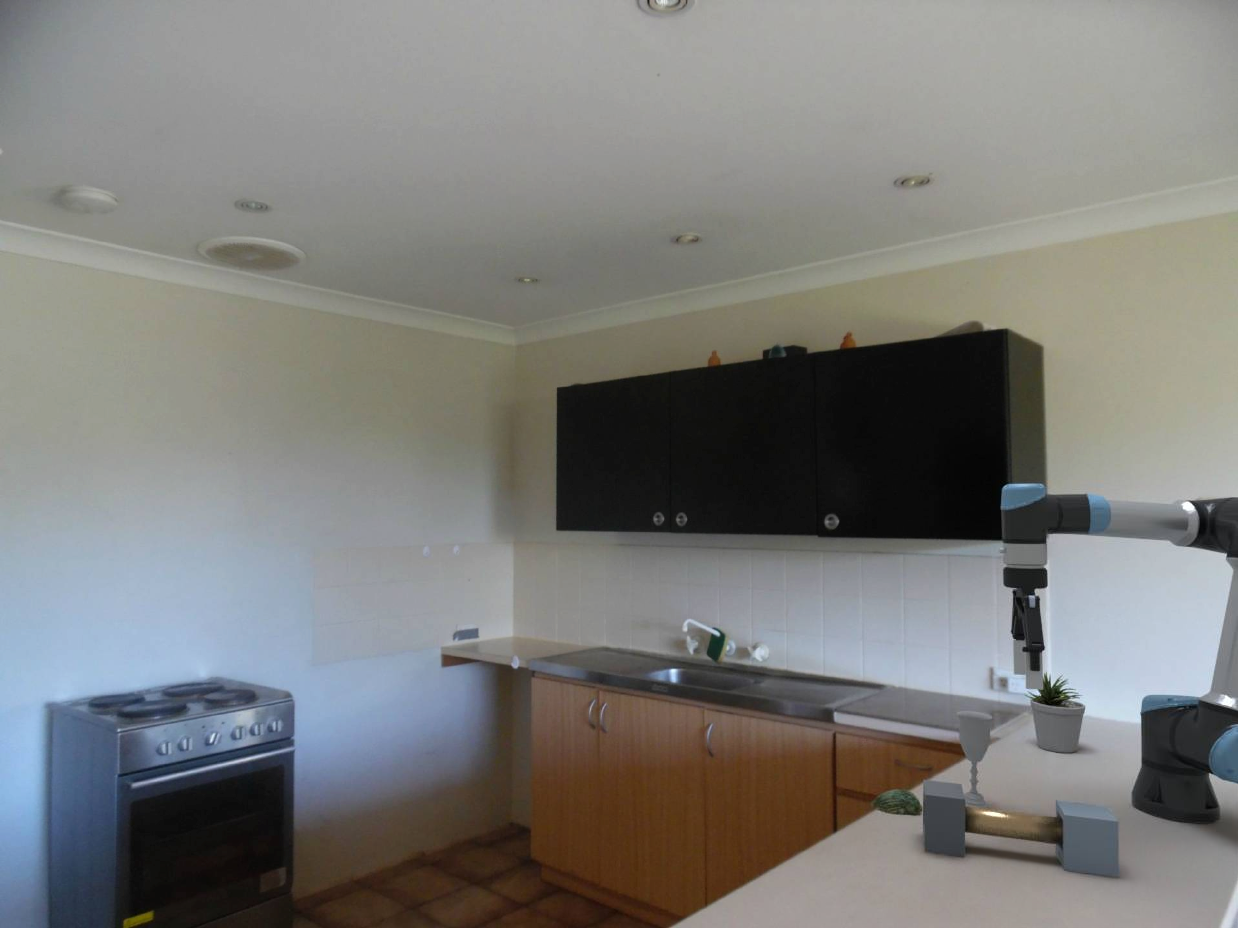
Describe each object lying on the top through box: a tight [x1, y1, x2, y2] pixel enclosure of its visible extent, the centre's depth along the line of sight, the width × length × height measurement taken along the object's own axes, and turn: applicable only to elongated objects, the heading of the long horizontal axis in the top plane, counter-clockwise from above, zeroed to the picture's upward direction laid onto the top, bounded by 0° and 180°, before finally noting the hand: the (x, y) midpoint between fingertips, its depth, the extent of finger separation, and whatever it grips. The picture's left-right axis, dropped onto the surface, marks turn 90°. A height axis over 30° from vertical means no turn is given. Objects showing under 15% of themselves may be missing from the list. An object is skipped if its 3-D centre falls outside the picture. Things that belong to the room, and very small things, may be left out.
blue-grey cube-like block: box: [1055, 799, 1120, 879], centre depth 147 cm, size 8×8×9 cm
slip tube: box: [965, 806, 1063, 845], centre depth 151 cm, size 22×4×4 cm, turn 73°
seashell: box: [870, 788, 923, 816], centre depth 172 cm, size 10×4×10 cm
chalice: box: [956, 710, 993, 808], centre depth 175 cm, size 7×7×18 cm
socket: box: [922, 779, 966, 858], centre depth 153 cm, size 6×9×10 cm
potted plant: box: [1023, 671, 1086, 754], centre depth 221 cm, size 13×14×20 cm
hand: (1027, 681), depth 160 cm, fingers open, 13 cm apart
